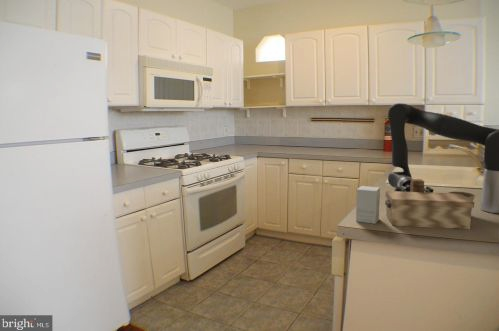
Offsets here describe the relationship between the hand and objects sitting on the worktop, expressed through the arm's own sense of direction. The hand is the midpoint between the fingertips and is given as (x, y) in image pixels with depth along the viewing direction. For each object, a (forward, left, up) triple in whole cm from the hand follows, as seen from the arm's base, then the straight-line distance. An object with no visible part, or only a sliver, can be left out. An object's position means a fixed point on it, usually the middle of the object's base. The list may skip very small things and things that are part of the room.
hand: (417, 194), depth 143 cm
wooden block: (0, -2, -9) cm, 9 cm away
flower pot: (-17, -3, -9) cm, 19 cm away
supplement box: (+20, +10, -9) cm, 24 cm away
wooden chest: (-1, +5, -8) cm, 10 cm away
